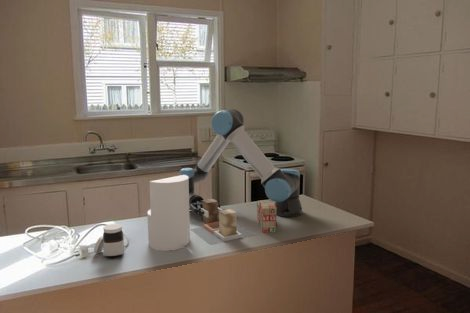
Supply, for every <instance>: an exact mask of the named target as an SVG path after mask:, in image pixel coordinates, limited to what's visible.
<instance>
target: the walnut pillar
mask: <svg viewBox="0 0 470 313" xmlns="http://www.w3.org/2000/svg"><path fill="white" fill-rule="evenodd" d="M218 204H219V203H218V200H217V199H214V198H207V199H204V200H202V208H203V209H205V210H206V211H208V212H209V217H208V218H207V217H205V216H204V215H202V223H203V224H208V223H213V222H219V214H218Z"/></svg>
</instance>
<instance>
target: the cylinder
mask: <svg viewBox="0 0 470 313" xmlns="http://www.w3.org/2000/svg"><path fill="white" fill-rule="evenodd" d="M149 200H150V201H149V202H150V209H148V210H147V212H146V213H147V214H146V215H147V234H148V235H147V236H148V238H147V239H148V240H147V241H148V247H149V248H151V249H153V250H155V251H159V252H160V251H163V252H168V251H169V250H172V251H176V250H177V249H178V250H181V249H184V248H186V247H187V245H188V244H189V243H190V241H191V230H190V227H191V225H190V224H191V223H190V210H189V177H188V176H187V175H180V174H179V175H175V176H170V177H166V178H159V179H155V180H150V181H149ZM183 247H184V248H183ZM180 248H181V249H180Z"/></svg>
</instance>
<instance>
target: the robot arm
mask: <svg viewBox="0 0 470 313" xmlns="http://www.w3.org/2000/svg"><path fill="white" fill-rule="evenodd" d="M210 126H211V128H212V130H213V132H214V133H215V134H216V136H215V138H214V139H213V140H212V142H211V143H210V145H209V147H208V148H207V150H206V151H205V153H204V154H203V155H202V157H201V158H200V160H198V162H197V164H196V165H195V167H194V168H191V167H183V168H181V169H180V170H179V176H180V175H187V176H188V177H189V211H191V212H192V213H193V214H195V215H198V216H201V215H202V216H203V215H204V216H205V217H207V218H208V217H209V212H208V211H206V210H205V209H203V208H202V200H205V199H204V198H203V197H202V196H200V195H199V194H197V193H195V184H196V183H199V182H201V181H202V182H203V181H204V180H205V179H207V177H208V176H209V171H210V170H211V169H212V168H213V166H214V164H215V163H216V162H217V161H218V158H219V157H220V156H221V154H222V153H223V151H224V150H225V149H226V147H227V146H228V145H229V143H232V145H233V146H234V147H235V149H236V150H237V151H238V152H239V153H240V155H242V157H243V159H245V161H246V163H248V165H249V166H250V167H251V168H252V169H253V170H254V172H255V173H256V175H258V177H260V179H261V180H260V181H261V182H260V183H261V184H260V185H262V187H263V188H264V192H265V195H266V197H267V198H268V200H272V201H273V202H274V204H275V206H276V208H277V209H276V216H280V217H285V218H293V217H294V218H295V217H299V216H301V215H302V214H303V207H302V203H301V201H300V186H301V185H300V184H301V182H300V181H301V180H300V179H301V172H300V171H299V170H298V169H292V168H279V167H275V166H274V164H273V163H272V162H271V161H270V160H269V159H268V158H267V156H266V155H265V154H264V153H263V152H262V150H261V149H260V148H259V146H257V145H256V143H255V142H254V140H253V139H252V138H251V136H249V135H248V133H247V132H246V131H245V118H244V115H243V114H242V112H241V111H240V110H238V109H234V108H231V109H222V110H219V111H217V112H215V114H214V115H213V116H212V118H211V124H210ZM222 210H223V209H222V208H221V204H219V203H218V215H219V211H222Z"/></svg>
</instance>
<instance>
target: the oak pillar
mask: <svg viewBox="0 0 470 313" xmlns="http://www.w3.org/2000/svg"><path fill="white" fill-rule="evenodd" d="M218 222H219V233H220V234H221V235H223V236H224V237H226V236H230V235H235V234H236V224H237V212H236V211H235V210H233V209H231V208H230V209H222V211H219V214H218Z"/></svg>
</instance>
